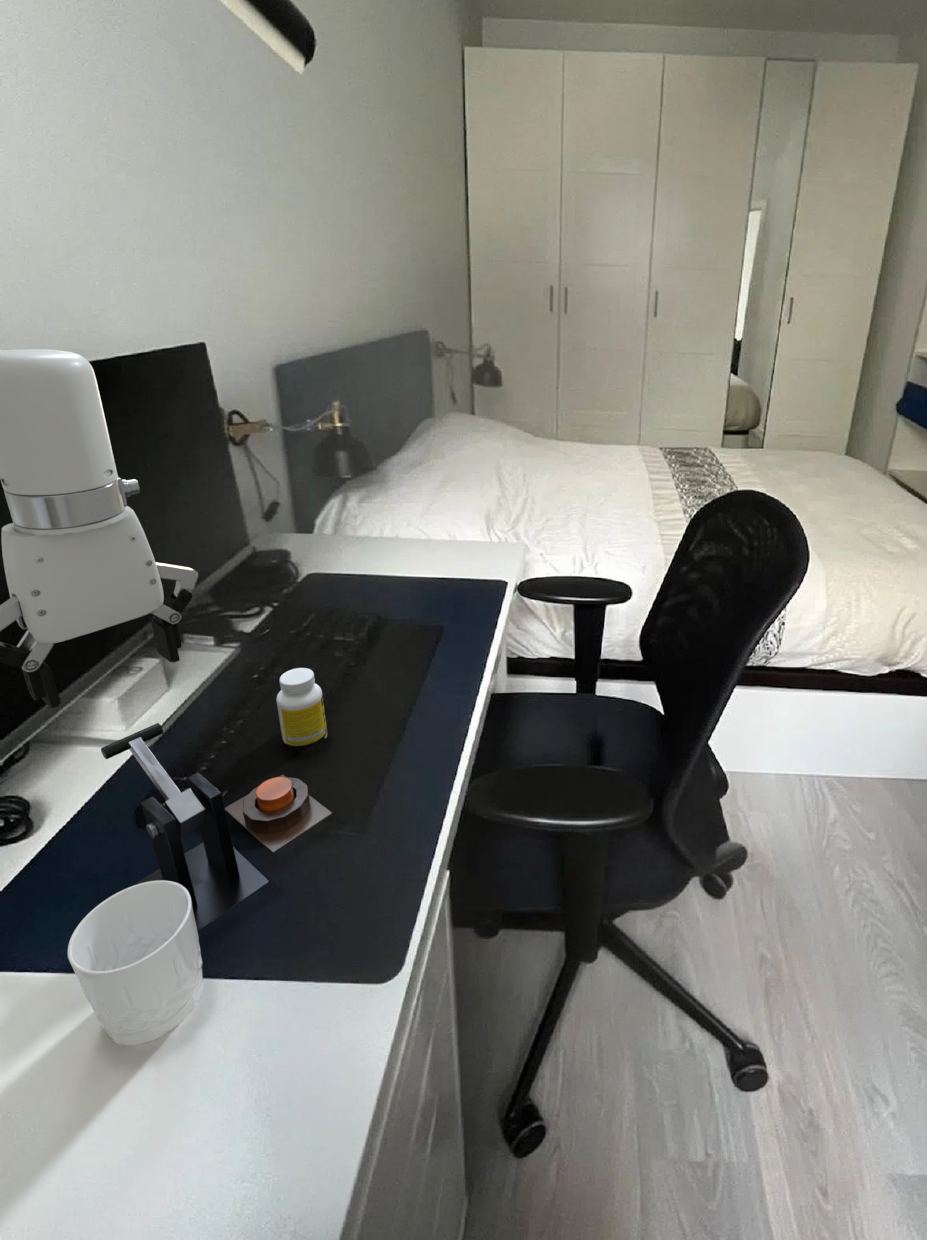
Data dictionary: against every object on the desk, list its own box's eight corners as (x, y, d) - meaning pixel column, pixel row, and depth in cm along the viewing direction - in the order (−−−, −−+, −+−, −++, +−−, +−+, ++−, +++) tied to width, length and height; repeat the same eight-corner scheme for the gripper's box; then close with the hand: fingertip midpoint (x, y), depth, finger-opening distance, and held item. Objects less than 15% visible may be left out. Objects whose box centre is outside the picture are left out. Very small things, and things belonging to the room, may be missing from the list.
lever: (101, 757, 63) (99, 742, 61) (158, 731, 67) (157, 716, 65) (164, 847, 58) (163, 833, 57) (220, 814, 62) (221, 800, 61)
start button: (251, 802, 71) (249, 790, 71) (282, 784, 74) (280, 772, 73) (269, 818, 69) (267, 805, 69) (300, 798, 72) (298, 786, 71)
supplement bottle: (335, 740, 85) (327, 676, 82) (294, 759, 82) (283, 694, 78) (316, 721, 89) (307, 660, 85) (276, 739, 85) (265, 675, 81)
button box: (225, 816, 73) (220, 795, 72) (284, 782, 78) (280, 762, 77) (274, 861, 67) (270, 839, 66) (334, 821, 73) (331, 800, 72)
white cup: (81, 1024, 52) (47, 937, 48) (181, 947, 58) (158, 864, 55) (131, 1085, 48) (99, 995, 45) (233, 995, 55) (211, 910, 51)
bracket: (137, 892, 63) (108, 797, 59) (220, 840, 70) (200, 752, 65) (186, 951, 58) (158, 852, 54) (271, 890, 64) (253, 796, 60)
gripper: (160, 475, 63) (191, 631, 69) (-86, 518, 50) (-20, 705, 56) (198, 492, 59) (227, 655, 65) (-58, 543, 46) (9, 741, 52)
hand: (113, 678), depth 61 cm, fingers open, 9 cm apart
